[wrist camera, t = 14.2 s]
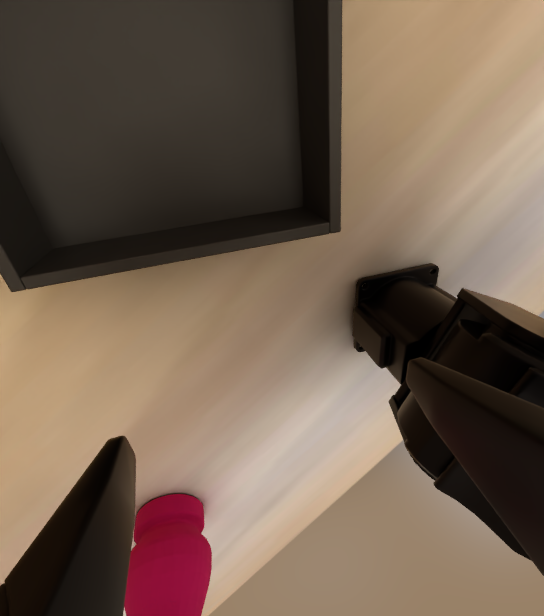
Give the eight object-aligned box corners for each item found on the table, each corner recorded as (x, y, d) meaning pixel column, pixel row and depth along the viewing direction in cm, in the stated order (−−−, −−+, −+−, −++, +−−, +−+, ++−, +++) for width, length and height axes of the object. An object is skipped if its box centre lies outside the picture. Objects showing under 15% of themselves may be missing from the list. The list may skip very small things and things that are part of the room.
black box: (297, -112, 13) (344, -213, 9) (310, 213, 19) (341, 232, 16) (-136, -112, 10) (-314, -250, 7) (48, 258, 17) (11, 293, 13)
